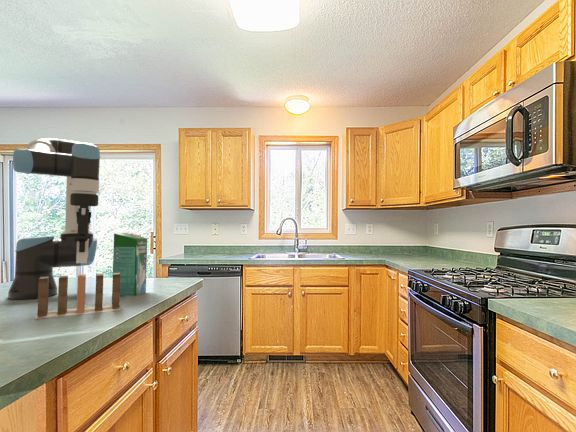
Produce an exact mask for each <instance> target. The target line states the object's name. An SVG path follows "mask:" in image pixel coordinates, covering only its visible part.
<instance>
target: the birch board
mask: <svg viewBox="0 0 576 432" xmlns="http://www.w3.org/2000/svg"><path fill="white" fill-rule="evenodd" d="M116 311H122V307H121V306H120V307H119V308H118V309H112V304H106V305H103V306H102V310H100V311H95V305H94V306H86V307H85V311H84V312H81V313H77V307H76V308H75V307H74V308H67V312H66V314H62V315H58V309H54V310H48V313H47V315H46V316H43V317H37V315H36V316H35V317H34V319H33V320H42V319H51V318H53V319H54V318H60V317H61V318H62V317H69V316H70V317H71V316H80V315H88V314H89V315H90V314H96V313H107V312H116Z"/></svg>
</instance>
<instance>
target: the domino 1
mask: <svg viewBox="0 0 576 432" xmlns="http://www.w3.org/2000/svg"><path fill="white" fill-rule="evenodd" d="M48 292H49V277H40V278H39V284H38V298H37V314H36V316H37V317H43V316H46V315H47V313H48V311H49V296H48Z"/></svg>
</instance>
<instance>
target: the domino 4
mask: <svg viewBox="0 0 576 432" xmlns="http://www.w3.org/2000/svg"><path fill="white" fill-rule="evenodd" d="M111 289H112V290H111V291H112V293H111V305H112V309H118V308H119V307H121V305H120V300H121V299H120V298H121V296H120V273H113V272H112V287H111Z"/></svg>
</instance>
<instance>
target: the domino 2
mask: <svg viewBox="0 0 576 432" xmlns="http://www.w3.org/2000/svg"><path fill="white" fill-rule="evenodd" d="M68 280H69V275H60V276H59V277H58V286H57V310H58V315H62V314H66V312H67V309H68V288H69V287H68V284H69V283H68V282H69V281H68Z"/></svg>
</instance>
